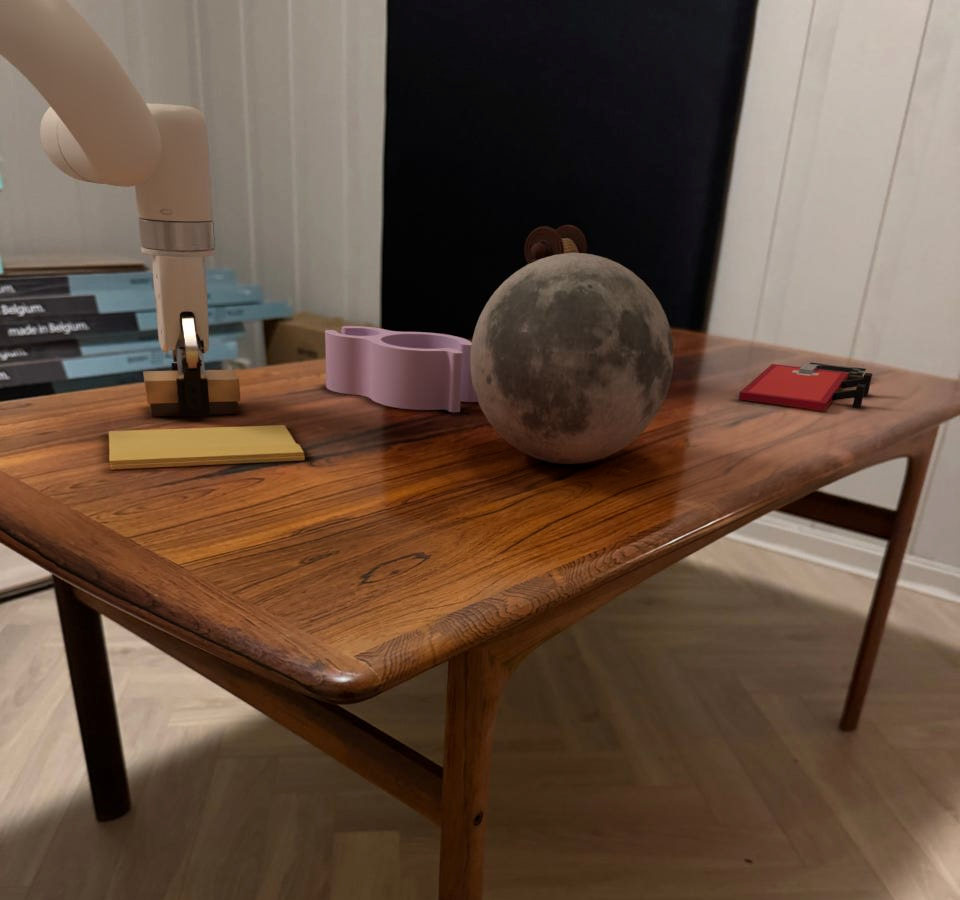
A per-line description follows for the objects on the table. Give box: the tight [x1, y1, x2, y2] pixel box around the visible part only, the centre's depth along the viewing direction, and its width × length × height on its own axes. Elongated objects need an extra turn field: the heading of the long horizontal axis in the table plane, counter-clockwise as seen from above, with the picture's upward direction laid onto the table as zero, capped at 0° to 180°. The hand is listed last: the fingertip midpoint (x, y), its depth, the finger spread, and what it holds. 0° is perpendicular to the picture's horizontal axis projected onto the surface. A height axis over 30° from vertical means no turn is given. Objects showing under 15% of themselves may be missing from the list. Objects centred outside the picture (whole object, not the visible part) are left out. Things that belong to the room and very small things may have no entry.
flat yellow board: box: [108, 424, 306, 471], centre depth 96 cm, size 18×12×1 cm, turn 110°
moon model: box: [470, 253, 675, 465], centre depth 94 cm, size 20×20×20 cm
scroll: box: [524, 224, 588, 265], centre depth 128 cm, size 15×15×20 cm
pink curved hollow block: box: [324, 325, 478, 413], centre depth 119 cm, size 20×12×7 cm, turn 64°
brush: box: [142, 369, 241, 418], centre depth 108 cm, size 10×5×4 cm, turn 110°
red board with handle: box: [738, 362, 873, 411], centre depth 137 cm, size 30×3×15 cm
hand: (191, 405), depth 108 cm, fingers open, 7 cm apart
